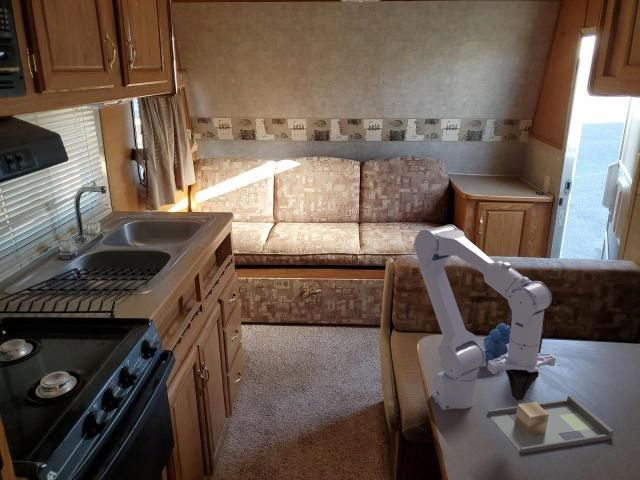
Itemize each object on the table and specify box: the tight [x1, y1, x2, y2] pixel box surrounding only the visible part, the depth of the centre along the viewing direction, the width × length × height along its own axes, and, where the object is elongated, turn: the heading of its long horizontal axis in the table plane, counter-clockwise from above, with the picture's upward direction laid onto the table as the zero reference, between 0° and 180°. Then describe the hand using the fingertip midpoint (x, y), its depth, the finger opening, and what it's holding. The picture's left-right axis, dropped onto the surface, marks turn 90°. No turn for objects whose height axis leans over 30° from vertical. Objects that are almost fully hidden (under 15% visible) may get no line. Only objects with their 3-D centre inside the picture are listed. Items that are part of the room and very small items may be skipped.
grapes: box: [483, 322, 511, 367], centre depth 135 cm, size 12×7×12 cm, turn 128°
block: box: [514, 401, 549, 437], centre depth 107 cm, size 4×4×5 cm
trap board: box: [487, 394, 615, 454], centre depth 108 cm, size 22×13×4 cm, turn 103°
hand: (517, 397), depth 104 cm, fingers closed
